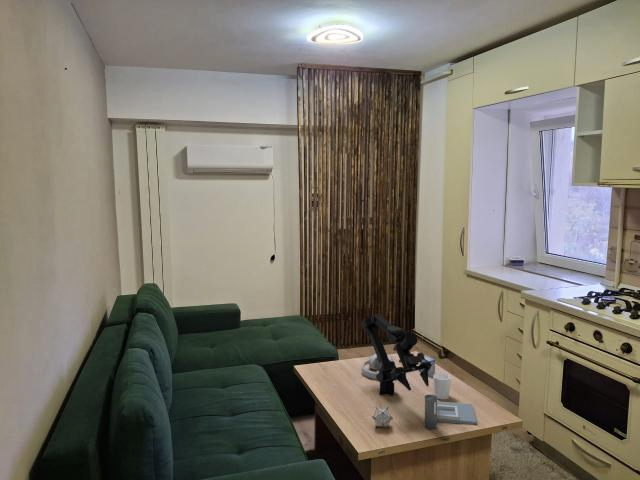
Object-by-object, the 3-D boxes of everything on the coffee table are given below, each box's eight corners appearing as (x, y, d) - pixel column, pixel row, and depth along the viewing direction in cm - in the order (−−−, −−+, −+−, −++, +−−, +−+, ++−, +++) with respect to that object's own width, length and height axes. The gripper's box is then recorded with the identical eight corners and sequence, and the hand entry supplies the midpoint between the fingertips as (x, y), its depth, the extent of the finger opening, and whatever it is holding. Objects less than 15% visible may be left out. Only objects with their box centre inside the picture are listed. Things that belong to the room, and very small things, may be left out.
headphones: (368, 362, 265) (357, 381, 248) (368, 349, 263) (357, 367, 246) (401, 366, 258) (392, 386, 241) (400, 353, 256) (391, 372, 239)
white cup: (450, 400, 219) (451, 380, 218) (433, 399, 221) (433, 379, 219) (449, 393, 227) (449, 373, 226) (432, 392, 228) (433, 372, 227)
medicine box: (419, 371, 253) (419, 356, 252) (425, 370, 255) (426, 354, 254) (428, 377, 246) (428, 361, 245) (435, 375, 248) (435, 359, 246)
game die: (384, 437, 196) (386, 426, 189) (367, 425, 200) (368, 414, 193) (395, 420, 201) (397, 409, 194) (378, 409, 205) (379, 398, 198)
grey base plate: (432, 420, 201) (432, 415, 201) (431, 403, 217) (431, 397, 217) (476, 424, 198) (476, 418, 198) (472, 406, 213) (472, 400, 213)
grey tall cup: (421, 425, 198) (422, 396, 196) (431, 422, 200) (432, 393, 198) (429, 431, 193) (430, 401, 192) (439, 428, 195) (440, 398, 194)
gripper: (394, 350, 202) (408, 385, 193) (429, 343, 209) (445, 376, 201) (384, 361, 210) (398, 395, 201) (419, 354, 217) (433, 386, 209)
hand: (419, 388), depth 203 cm, fingers open, 9 cm apart
